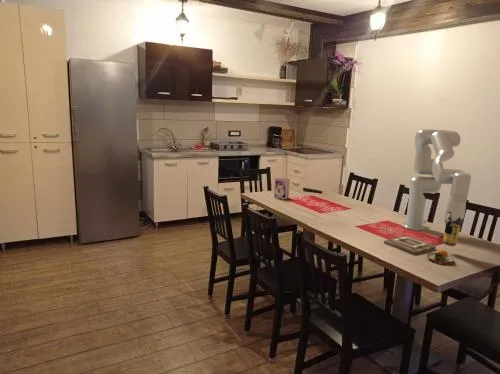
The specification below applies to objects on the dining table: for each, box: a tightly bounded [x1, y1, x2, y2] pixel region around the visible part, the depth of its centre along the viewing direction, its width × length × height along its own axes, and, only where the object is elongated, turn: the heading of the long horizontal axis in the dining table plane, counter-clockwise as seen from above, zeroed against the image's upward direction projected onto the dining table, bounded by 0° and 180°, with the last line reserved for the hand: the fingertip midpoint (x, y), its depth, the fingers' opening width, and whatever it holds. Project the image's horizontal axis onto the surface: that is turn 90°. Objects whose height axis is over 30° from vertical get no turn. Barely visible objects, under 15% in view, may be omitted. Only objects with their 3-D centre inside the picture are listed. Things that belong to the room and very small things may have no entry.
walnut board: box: [383, 235, 436, 256], centre depth 200 cm, size 18×18×2 cm
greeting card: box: [273, 177, 291, 200], centre depth 291 cm, size 11×7×15 cm, turn 53°
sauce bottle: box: [442, 217, 462, 247], centre depth 190 cm, size 6×6×20 cm
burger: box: [426, 248, 454, 266], centre depth 183 cm, size 12×12×8 cm
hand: (452, 231), depth 191 cm, fingers closed on sauce bottle, 6 cm apart
